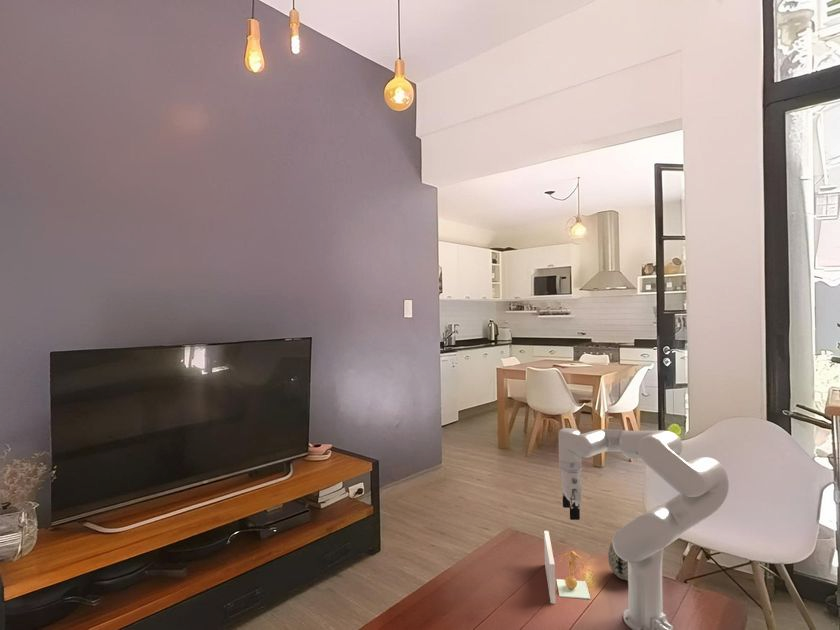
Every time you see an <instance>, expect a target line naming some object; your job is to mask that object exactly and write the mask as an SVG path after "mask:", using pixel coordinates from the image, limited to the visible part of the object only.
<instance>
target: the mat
mask: <svg viewBox="0 0 840 630" xmlns="http://www.w3.org/2000/svg"><path fill="white" fill-rule="evenodd" d="M555 581H556V586H557V590H558V595H559V596H558V597H559V598H571V599H579V600H580V599H581V600H591V595H590V593H589V592H590V591H589V588H588V585H587V582H586V580H577V586H576V587H575V588H574V589H570V588H568V587H567V586H566V584H565V579H559V578H555Z"/></svg>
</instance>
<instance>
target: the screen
mask: <svg viewBox="0 0 840 630" xmlns="http://www.w3.org/2000/svg"><path fill="white" fill-rule="evenodd" d="M543 531H544V532H543V538H544V541H543V543H544V544H543V545H544V566H545V574H546V580H547V581H546V582H547V587H548V588H547V589H548V595H549V601H550V604H553V605H554V604H556V571H555V570H556V565H555V559H554V555H553V554H554V552H553V548H552V542H551V537H550V532H549V530H543Z"/></svg>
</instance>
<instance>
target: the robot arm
mask: <svg viewBox="0 0 840 630" xmlns="http://www.w3.org/2000/svg"><path fill="white" fill-rule="evenodd" d="M682 451H683V443H682V440H681V438H680V437H679V435H677V434H676V433H675V432H673V431H669V430H663V429H662V430H658V429H655V430H625V429H624V430H623V429H618V428H617V429H615V428H613V429H612V428H611V429H610V428H609V429H605V428H604V429H603V428H602V429H596V430H591V431H587V432H583V433H581V431H580V430H579V429H576V428H571V427H565V428H564V427H563V428H561V429H560V430H559V431H558V468H559V470H561V481H560V482H561V490H562V507H563V509H564V508H565V509H567V508H569V519H570V521H580V518H581V517H580V515H581V510H580V501H582V500H583V490H582V488H583V487H582V477H581V472H582V471H583V470H582V465H583V464H582V462H583V461H582V458H590V457H594V456H596V455H598V454H601V453H605V452H607V453H608V452H614V453H615V452H617V453H622V454H623V456H624V457H626V458H627V459H629V460H641V461H642V462H643V463H644V464H645V465H646V466H647V468H650V470H652V471H653V472H654V473H655V474H656V475H657V476H659V477H660V478H661V479H662V480H663V481H664V482H666V483H667V484H668V485H669V486H670V487H672V488H673V489H674V490H675V491H677V492H678V494H677V495H676V496H674V497H673V498H671V499H669V500H667V501H666V502H664V503H661V504H659V505H657V506H655V507H653V508H651V509H649V510H647V511H645V512H643V513H642V514H640V515H639V516H638V517H635V518H634V519H633V520H631V521H629V522H628V523H627V524H624V525H623V526H622V527H620V528H619V529H618V530H616V531H615V533H614V535H613V537H612V542H613V548H614V551H615V553H616V554H617V555H618V556H619V557H620V558H621V559H622V560H624V561H626V562H628V581H627V588H628V589H627V590H628V591H627V592H628V593H627V595H628V596H627V597H628V599H627V601H628V608H627V609H625V610H624V611H623V621H624V624H625V625H626V626H627V627H629V628H630V629H631V630H674V626H673V625H672V624H671V623H669V622H668V620H667V615H666V614H665V613H664V611H663V610H664V608H663V605H664V604H663V555H664V550H665V549H664V548H666V547H667V546H669V545H671V544H672V543H674V542H675V541H676V540H678V539H679V538H681V537H682V536H683V535H684V534H685V533H686V532H688V531H689V530H691V529H692V528H693V527H695V526H697V525H699V524H700V523H702V522H703V521H705V520H707V519H708V518H709V517H711V516H712V515H713V514H714V513H716V512H717V511H718V510H719V509H720V508H721V507H722V505H723V504H724V503H725V501H726V499H727V496H728V493H729V486H730V485H729V484H730V483H729V477H728V473H727V470H726V469H725V467H724V466H723V464H722V463H720V461H718V460H717V459H715V458H713V457H709V456H701V457H699V456H698V457H696V458H693V459H691V460H689V461H685V460H684V459H683V458H682V457H681V456H680V455H681V454H682Z"/></svg>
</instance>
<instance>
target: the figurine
mask: <svg viewBox="0 0 840 630" xmlns="http://www.w3.org/2000/svg"><path fill="white" fill-rule="evenodd" d="M565 556H568V557H569V560H568V561H567V562H568V563H567V570H568V576H566V578H565V579H564V580H565V584H566V586H567V587H568V588H570V589H574V588H575V587H576V586H577V581H578V580H577V579H576V578H575V572H576V566H577V562H575V560H576V558H577V559H579V560H580V562H581V565H582V569H583V570H584V569H585V565H584V562H583V558H582V557H581V556H580V555H578V553H576V552H575V551H574V550H571V551H569V552H566V553H563V555H562V557H560V560H559V564H561V562H562V560H563V559H564V557H565ZM571 567H572V575H571Z"/></svg>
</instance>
